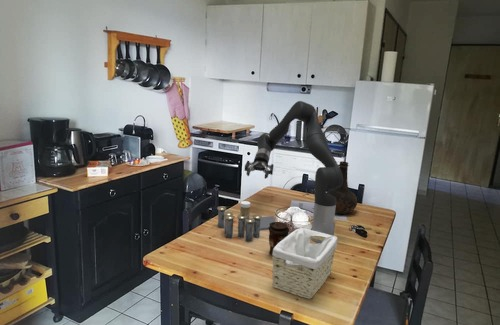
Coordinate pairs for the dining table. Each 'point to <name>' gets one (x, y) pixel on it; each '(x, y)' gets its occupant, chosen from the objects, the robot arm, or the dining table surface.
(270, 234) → the coffee cup
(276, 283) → the storage basket
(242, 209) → the sprinkles bottle
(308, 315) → the dining table surface
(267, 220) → the rubber mat
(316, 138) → the robot arm
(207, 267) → the dining table surface
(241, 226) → the posts
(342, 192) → the glass bottle
